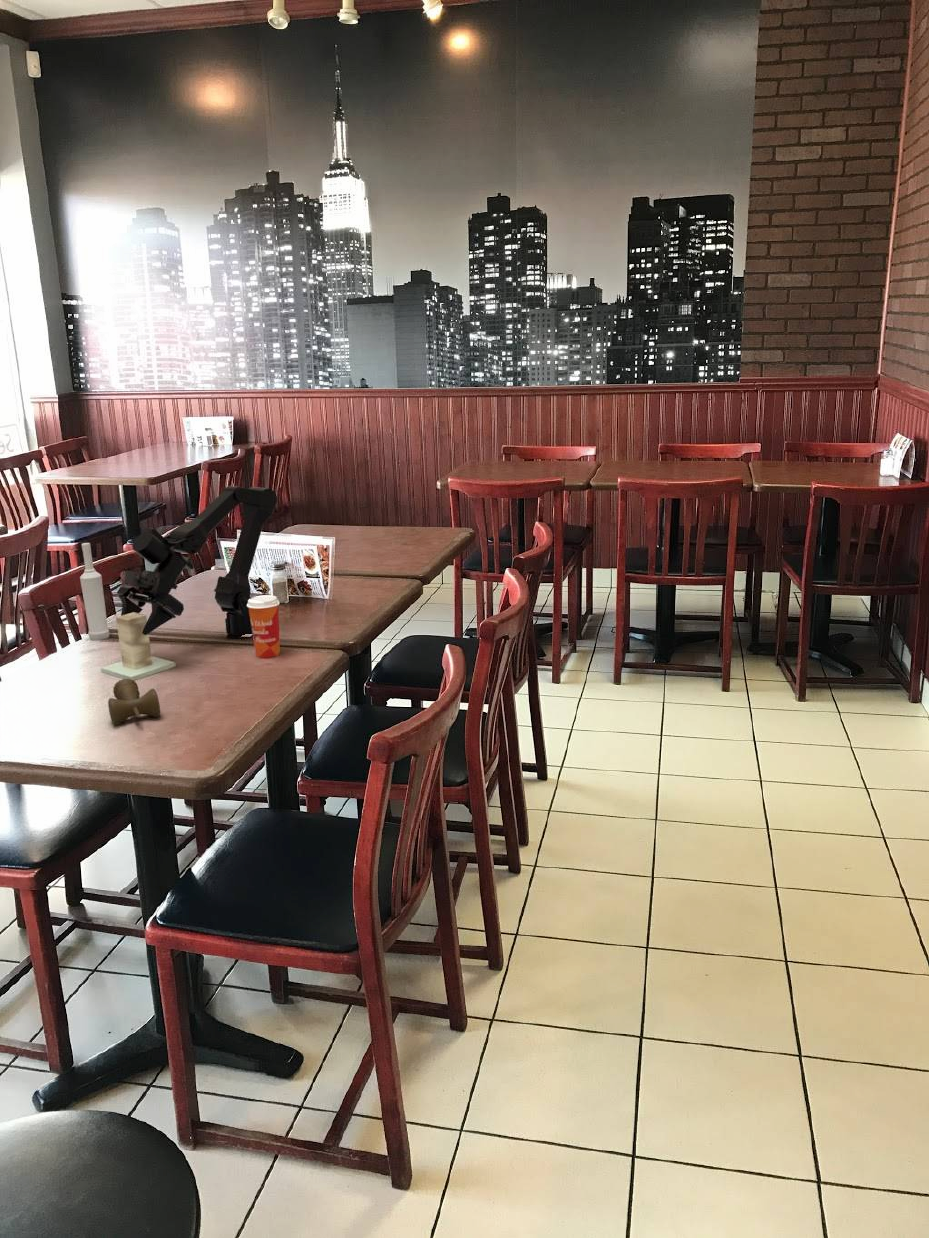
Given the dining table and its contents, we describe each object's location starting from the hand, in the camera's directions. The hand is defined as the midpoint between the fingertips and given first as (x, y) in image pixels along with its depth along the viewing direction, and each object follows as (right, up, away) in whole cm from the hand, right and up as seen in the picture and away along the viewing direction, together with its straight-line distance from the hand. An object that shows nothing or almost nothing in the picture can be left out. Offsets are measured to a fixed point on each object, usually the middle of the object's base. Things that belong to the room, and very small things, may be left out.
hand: (131, 631), depth 232 cm
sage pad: (+1, -9, +3) cm, 9 cm away
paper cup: (+30, -6, +10) cm, 32 cm away
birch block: (+1, -8, +3) cm, 8 cm away
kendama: (+9, -17, -25) cm, 31 cm away
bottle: (-18, -2, +30) cm, 35 cm away
